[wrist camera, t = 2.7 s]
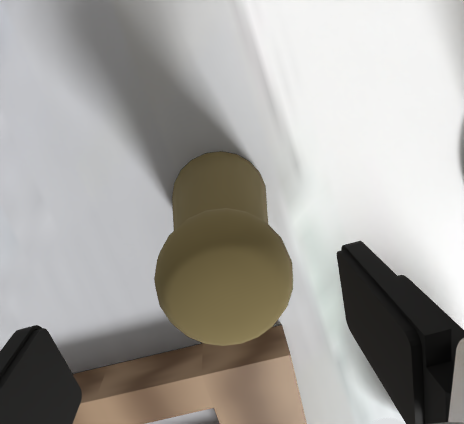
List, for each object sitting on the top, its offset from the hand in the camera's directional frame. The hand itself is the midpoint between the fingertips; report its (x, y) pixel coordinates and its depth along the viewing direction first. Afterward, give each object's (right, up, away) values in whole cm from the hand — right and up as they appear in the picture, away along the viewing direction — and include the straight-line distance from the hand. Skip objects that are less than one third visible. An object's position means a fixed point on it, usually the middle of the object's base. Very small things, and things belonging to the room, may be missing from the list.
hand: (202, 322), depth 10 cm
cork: (0, +4, +11) cm, 12 cm away
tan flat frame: (-3, -14, +18) cm, 23 cm away
